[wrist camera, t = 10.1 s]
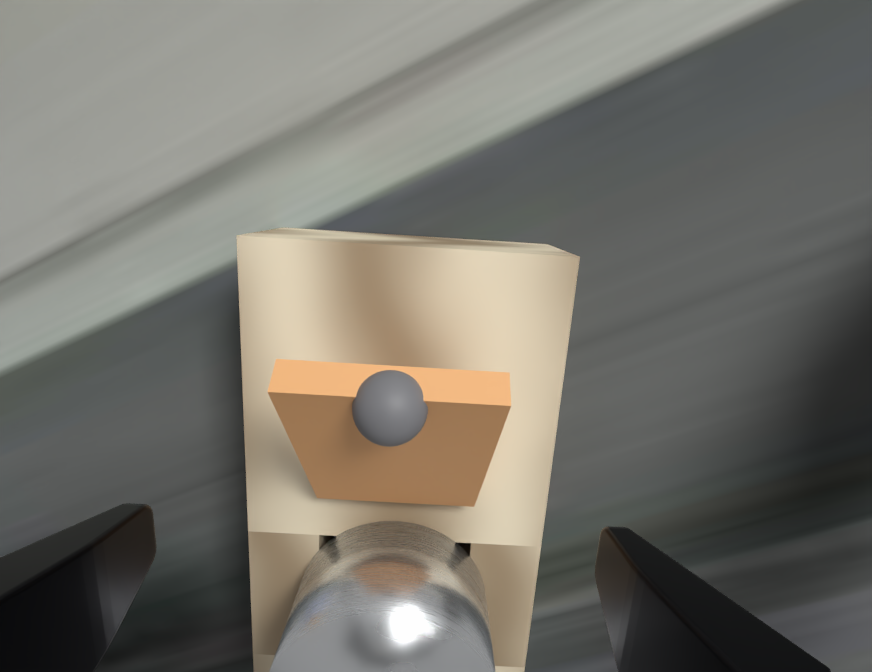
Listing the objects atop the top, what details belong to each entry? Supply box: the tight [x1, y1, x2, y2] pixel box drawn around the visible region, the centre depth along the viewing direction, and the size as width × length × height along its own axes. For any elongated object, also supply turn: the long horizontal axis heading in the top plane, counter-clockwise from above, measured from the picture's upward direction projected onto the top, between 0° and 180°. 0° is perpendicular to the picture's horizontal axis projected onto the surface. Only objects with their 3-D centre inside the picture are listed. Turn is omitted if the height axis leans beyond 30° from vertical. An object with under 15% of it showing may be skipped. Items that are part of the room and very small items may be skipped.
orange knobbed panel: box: [267, 359, 511, 507], centre depth 13 cm, size 7×5×2 cm
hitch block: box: [237, 228, 580, 672], centre depth 19 cm, size 10×16×4 cm, turn 176°
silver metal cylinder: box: [269, 521, 495, 672], centre depth 18 cm, size 7×7×8 cm
